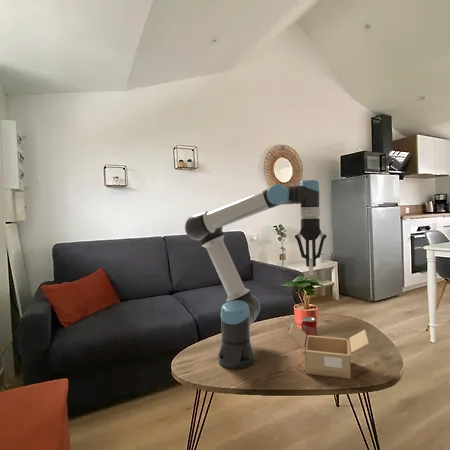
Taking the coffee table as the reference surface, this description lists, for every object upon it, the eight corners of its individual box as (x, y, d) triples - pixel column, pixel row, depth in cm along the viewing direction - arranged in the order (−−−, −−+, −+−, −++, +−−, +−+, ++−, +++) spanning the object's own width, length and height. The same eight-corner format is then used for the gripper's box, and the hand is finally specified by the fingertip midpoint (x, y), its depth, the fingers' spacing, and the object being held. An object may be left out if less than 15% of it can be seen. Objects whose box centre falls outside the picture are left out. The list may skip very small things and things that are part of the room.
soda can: (317, 348, 140) (317, 321, 139) (301, 347, 141) (301, 321, 141) (316, 342, 147) (315, 316, 146) (301, 341, 148) (300, 316, 147)
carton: (305, 374, 119) (304, 351, 118) (307, 356, 133) (307, 335, 133) (350, 380, 114) (350, 356, 113) (348, 360, 128) (348, 338, 128)
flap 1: (293, 322, 133) (292, 323, 133) (289, 334, 121) (288, 335, 121) (306, 334, 132) (305, 335, 132) (303, 347, 119) (303, 348, 119)
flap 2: (368, 343, 112) (369, 344, 112) (364, 329, 124) (365, 330, 124) (351, 352, 114) (352, 353, 114) (349, 338, 126) (349, 339, 126)
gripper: (293, 218, 129) (294, 275, 130) (326, 217, 125) (327, 277, 126) (294, 217, 136) (296, 272, 138) (326, 217, 132) (327, 273, 133)
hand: (311, 274), depth 132 cm, fingers closed
